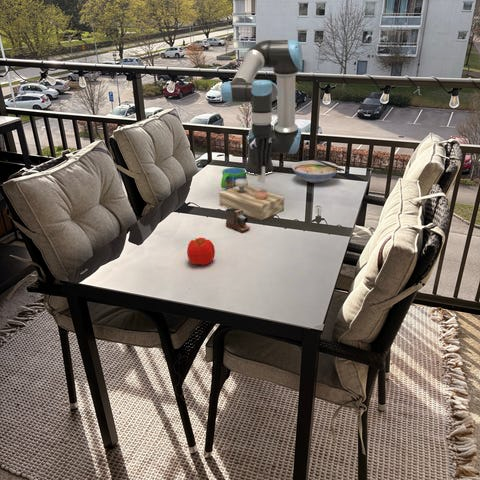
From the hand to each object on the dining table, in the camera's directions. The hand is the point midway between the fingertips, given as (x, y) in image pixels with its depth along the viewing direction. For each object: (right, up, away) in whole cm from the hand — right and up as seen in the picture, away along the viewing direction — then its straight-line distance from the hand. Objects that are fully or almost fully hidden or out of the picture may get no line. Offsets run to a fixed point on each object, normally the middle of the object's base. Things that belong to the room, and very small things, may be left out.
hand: (261, 181), depth 187 cm
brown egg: (0, -10, +4) cm, 11 cm away
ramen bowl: (+28, +5, +41) cm, 50 cm away
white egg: (-8, -4, +10) cm, 14 cm away
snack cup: (-11, -1, +28) cm, 30 cm away
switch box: (-4, -10, +9) cm, 14 cm away
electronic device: (-9, -19, -10) cm, 24 cm away
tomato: (-22, -31, -35) cm, 51 cm away
